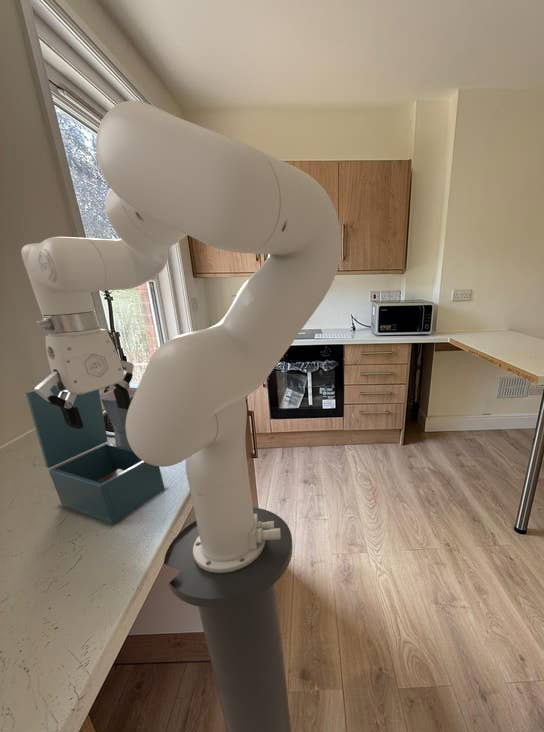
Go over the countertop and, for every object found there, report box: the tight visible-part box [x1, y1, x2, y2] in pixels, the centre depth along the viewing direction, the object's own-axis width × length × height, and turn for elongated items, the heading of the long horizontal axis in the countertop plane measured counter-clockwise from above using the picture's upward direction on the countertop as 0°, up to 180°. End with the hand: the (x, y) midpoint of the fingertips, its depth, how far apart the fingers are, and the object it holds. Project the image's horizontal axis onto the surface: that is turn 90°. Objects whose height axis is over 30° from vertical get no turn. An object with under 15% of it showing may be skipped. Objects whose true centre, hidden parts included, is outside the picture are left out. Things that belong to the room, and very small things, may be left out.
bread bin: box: [48, 442, 165, 526], centre depth 74 cm, size 16×13×9 cm
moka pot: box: [100, 386, 138, 449], centre depth 91 cm, size 10×15×20 cm, turn 60°
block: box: [97, 469, 125, 483], centre depth 74 cm, size 5×5×5 cm
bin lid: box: [25, 385, 108, 469], centre depth 72 cm, size 17×13×5 cm
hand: (102, 417), depth 65 cm, fingers open, 9 cm apart
